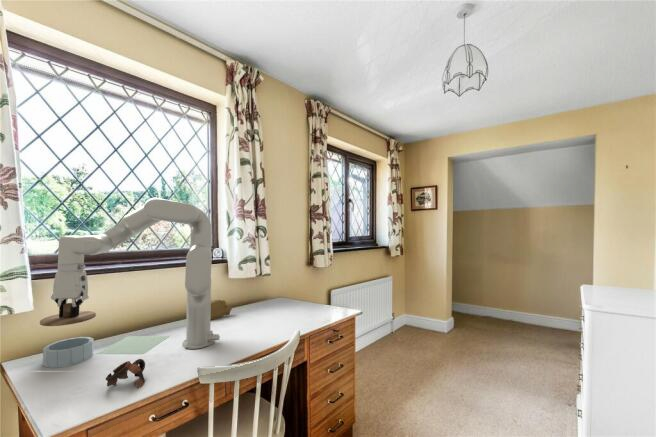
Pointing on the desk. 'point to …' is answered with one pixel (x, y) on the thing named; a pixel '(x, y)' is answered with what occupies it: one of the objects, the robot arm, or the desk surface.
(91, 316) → the walnut lid
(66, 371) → the desk surface
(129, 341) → the sage mat
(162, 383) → the desk surface
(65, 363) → the slate bowl
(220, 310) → the wooden carving
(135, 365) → the brown animal figurine
